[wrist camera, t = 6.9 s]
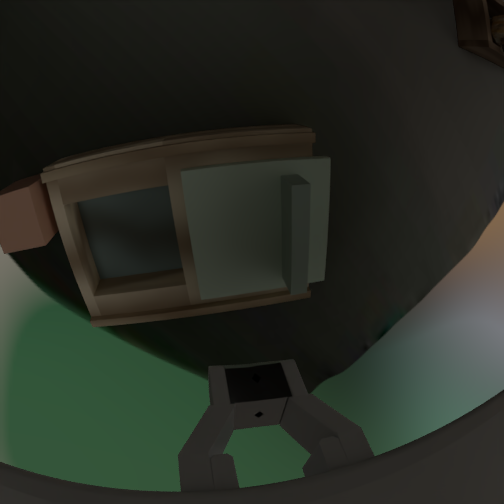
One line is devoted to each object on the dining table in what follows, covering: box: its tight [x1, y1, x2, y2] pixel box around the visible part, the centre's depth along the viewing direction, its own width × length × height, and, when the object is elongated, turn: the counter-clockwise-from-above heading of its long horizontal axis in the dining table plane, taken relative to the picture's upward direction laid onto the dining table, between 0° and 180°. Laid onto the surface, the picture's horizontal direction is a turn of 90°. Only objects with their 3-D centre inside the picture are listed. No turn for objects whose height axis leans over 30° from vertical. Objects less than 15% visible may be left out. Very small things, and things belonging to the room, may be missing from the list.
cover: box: [181, 156, 331, 300], centre depth 21 cm, size 10×10×3 cm
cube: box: [0, 174, 59, 254], centre depth 19 cm, size 4×4×5 cm
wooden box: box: [40, 124, 315, 327], centre depth 23 cm, size 14×19×4 cm
